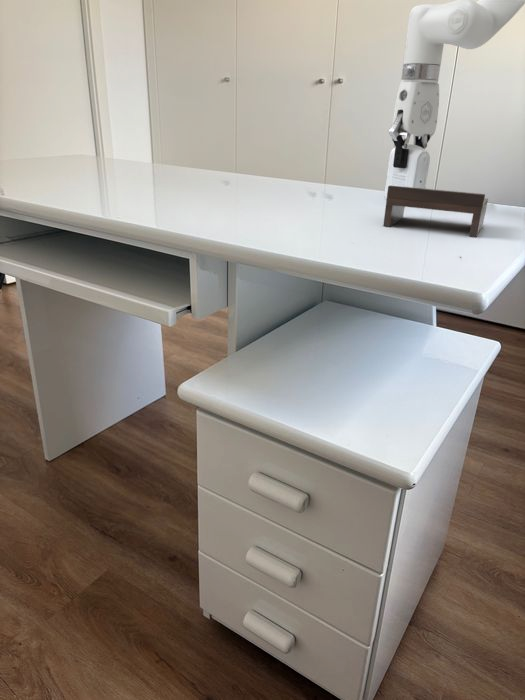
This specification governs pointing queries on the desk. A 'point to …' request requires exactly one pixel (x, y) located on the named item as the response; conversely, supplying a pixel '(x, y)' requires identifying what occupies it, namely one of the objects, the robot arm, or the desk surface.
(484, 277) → the desk surface
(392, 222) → the shelf
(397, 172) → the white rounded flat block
